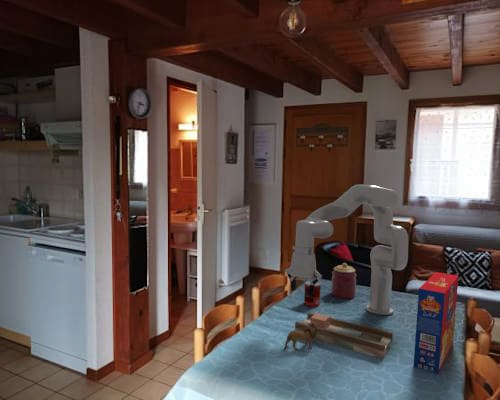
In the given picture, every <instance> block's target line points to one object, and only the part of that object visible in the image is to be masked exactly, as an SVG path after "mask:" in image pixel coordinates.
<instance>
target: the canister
mask: <svg viewBox="0 0 500 400" xmlns="http://www.w3.org/2000/svg"><path fill="white" fill-rule="evenodd" d="M331 274H332V277H331V289H330V292H331V295H332V296H333V297H335V298H337V299H338V298H339V299H347V300H348V299H354V298H355V297H356V293H357V292H356V289H357V288H356V287H357V285H356V284H357V279H356V277H357V276H358V275H357V273H356V269H355V268H354V267H353V266H351V265H350V266H349V265H348V264H347V263H346V262H343V263H342V264H339V265H336V266H335V267H333V271H331Z"/></svg>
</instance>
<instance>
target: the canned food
mask: <svg viewBox="0 0 500 400" xmlns="http://www.w3.org/2000/svg"><path fill="white" fill-rule="evenodd" d="M309 285H311V284H310V281H309V280H306V281H305V282H304V298H303V302H304V305H305V306H306V307H309V308H316V307H317V308H318V307H319V306H320V304H321V287H322V284H321V282H320V281H318V282H317V283H316V284H315V290H314V292H313V294H311V295H310V294H309Z"/></svg>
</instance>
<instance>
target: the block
mask: <svg viewBox="0 0 500 400" xmlns="http://www.w3.org/2000/svg"><path fill="white" fill-rule="evenodd" d="M314 314H315V315H313V316H312V317H311V322H315V323H317V325H318V327H320V328H324V329H327V328H328V327H329V326H330V317H331V316H330V315H327V314H326V315H325V314H322V313H319V312H316V313H314Z"/></svg>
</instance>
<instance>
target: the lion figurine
mask: <svg viewBox="0 0 500 400" xmlns="http://www.w3.org/2000/svg"><path fill="white" fill-rule="evenodd" d="M317 332H318V325H317V323H315V322H311V323H309V324H308V327H307V328H306V329H305V330H304V331H295V330H291V331H290V332H289V333H288V335H287V336H286V340H285V344H284V347H283V350H286V349H288V348H289V345H288V344H289V343H290V342H291V341H292V346H291V347H292V348H293V350H294V351H295V352H296V351H297V352H298V351H299V349H298V347H296V345H297V341H300V342H304V344H303V345H304V346H306V347H307V346H308V348H309V349H311V350H312V349H313V346H312V343H313V339H314V338H315V337H316V335H317Z"/></svg>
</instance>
